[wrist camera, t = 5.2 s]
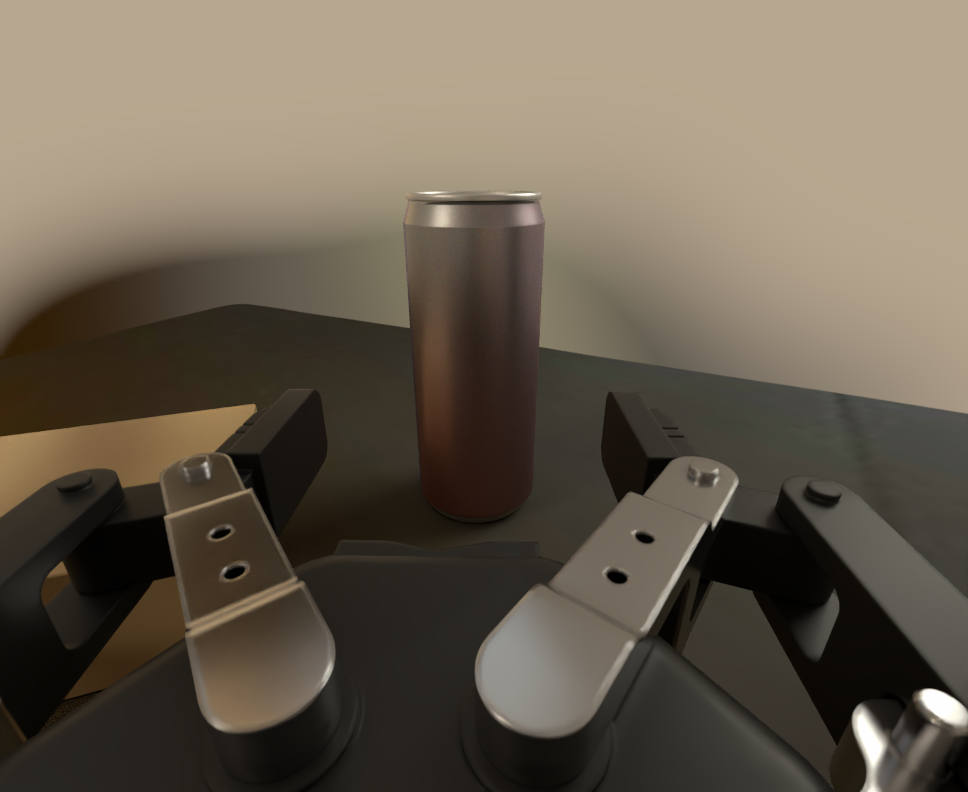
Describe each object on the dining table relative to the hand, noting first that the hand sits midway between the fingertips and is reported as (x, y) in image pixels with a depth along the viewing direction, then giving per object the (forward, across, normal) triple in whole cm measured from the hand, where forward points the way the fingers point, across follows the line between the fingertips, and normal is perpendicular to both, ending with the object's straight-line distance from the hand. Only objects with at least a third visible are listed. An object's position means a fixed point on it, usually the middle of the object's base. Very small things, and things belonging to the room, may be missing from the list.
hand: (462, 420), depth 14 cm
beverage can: (+10, 0, +10) cm, 14 cm away
